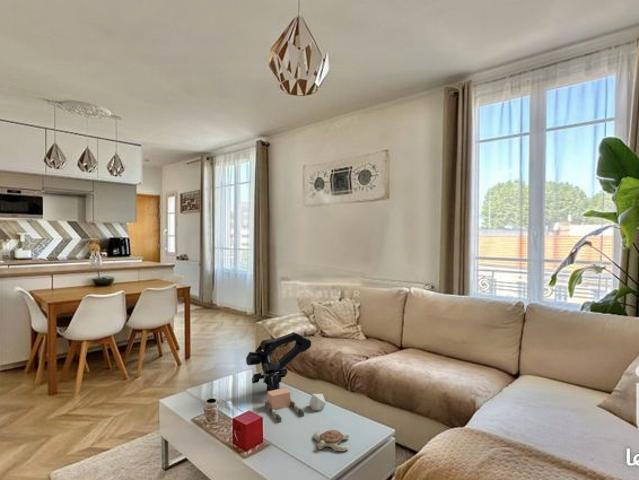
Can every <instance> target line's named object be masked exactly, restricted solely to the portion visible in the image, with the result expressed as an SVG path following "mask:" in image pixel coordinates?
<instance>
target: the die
mask: <svg viewBox="0 0 639 480" xmlns="http://www.w3.org/2000/svg"><path fill="white" fill-rule="evenodd" d="M308 403H309V406H310V409H311V410H313V411H323V410H324V409H325V406H326V404H327V403H326V400H325V397H324V395H323V393H312V394H311V397H310V400H309V402H308Z"/></svg>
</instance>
